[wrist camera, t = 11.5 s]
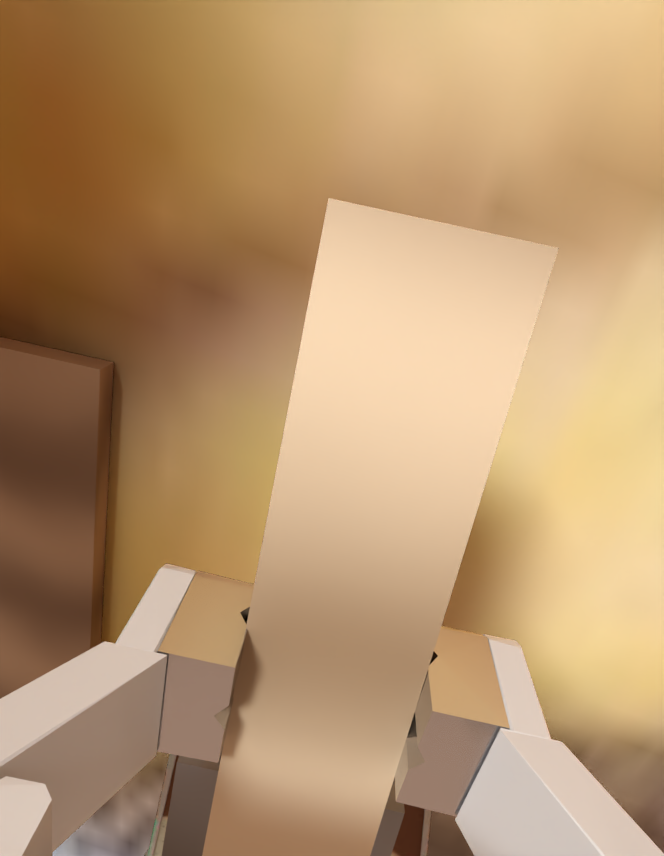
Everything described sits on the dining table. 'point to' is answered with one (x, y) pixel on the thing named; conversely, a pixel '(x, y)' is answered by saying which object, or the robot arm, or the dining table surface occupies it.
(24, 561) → the wooden board
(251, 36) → the dining table surface
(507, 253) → the turner
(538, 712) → the robot arm
